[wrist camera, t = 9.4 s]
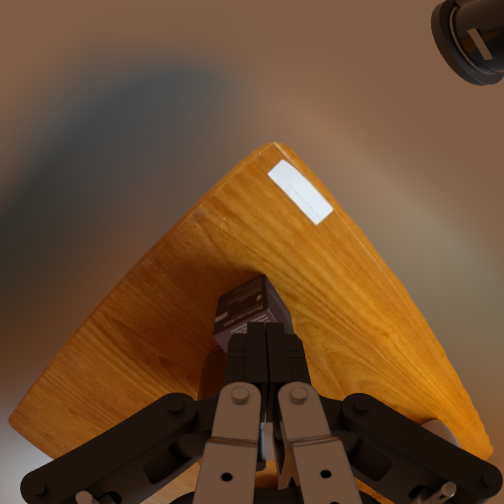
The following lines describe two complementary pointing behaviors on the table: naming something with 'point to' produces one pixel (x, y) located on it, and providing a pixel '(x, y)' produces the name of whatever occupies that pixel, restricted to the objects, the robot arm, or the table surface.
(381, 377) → the table surface
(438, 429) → the mug
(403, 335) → the table surface
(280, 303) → the box
